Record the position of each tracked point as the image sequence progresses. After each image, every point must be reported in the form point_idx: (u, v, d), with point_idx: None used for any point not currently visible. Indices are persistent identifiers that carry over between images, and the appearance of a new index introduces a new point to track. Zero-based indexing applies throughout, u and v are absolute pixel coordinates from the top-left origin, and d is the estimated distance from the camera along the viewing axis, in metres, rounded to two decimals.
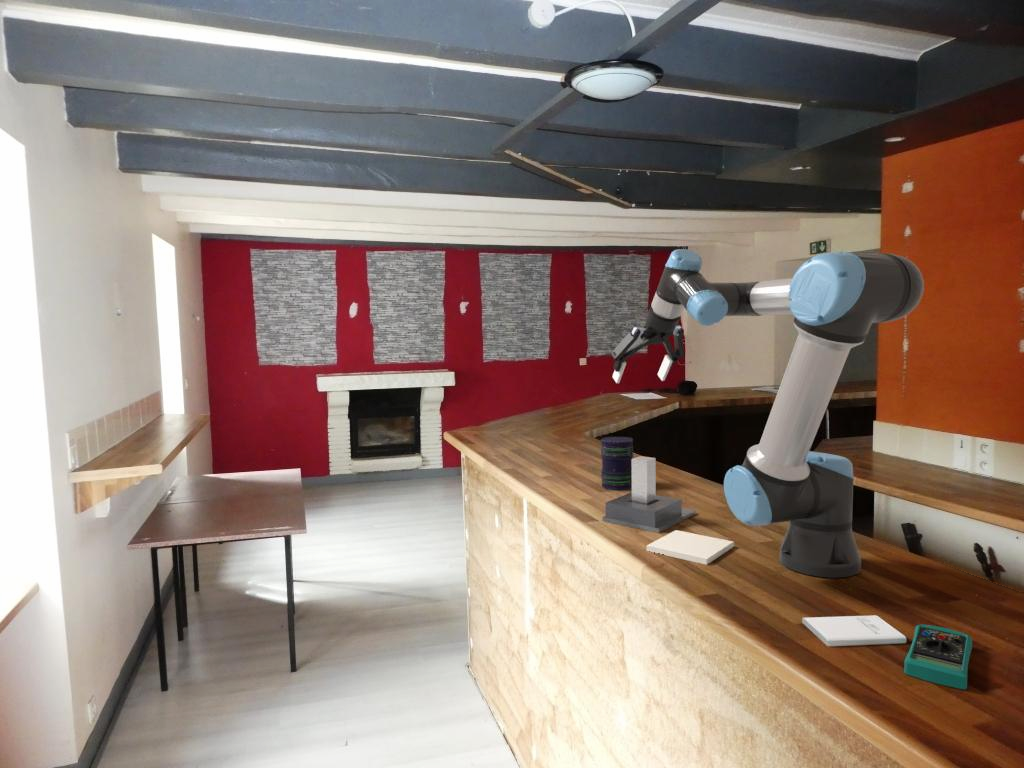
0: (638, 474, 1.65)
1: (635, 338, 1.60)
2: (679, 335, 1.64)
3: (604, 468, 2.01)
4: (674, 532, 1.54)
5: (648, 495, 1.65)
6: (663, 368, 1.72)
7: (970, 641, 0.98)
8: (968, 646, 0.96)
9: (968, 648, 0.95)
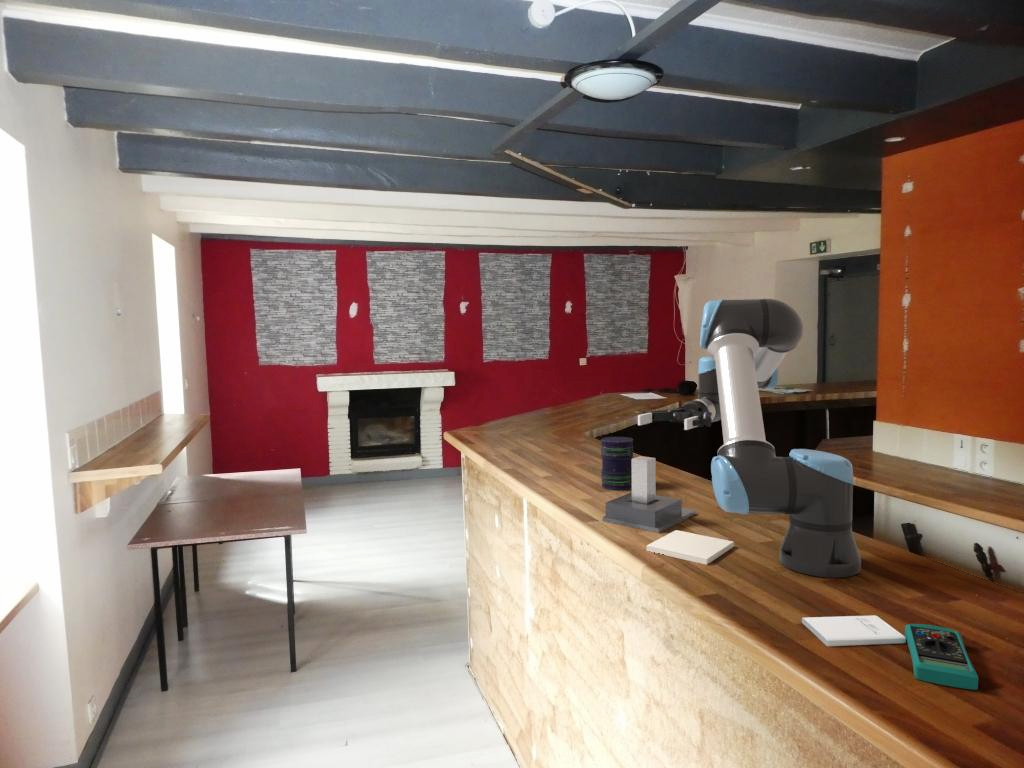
0: (638, 474, 1.65)
1: (664, 410, 1.88)
2: (707, 413, 1.80)
3: (604, 468, 2.01)
4: (674, 532, 1.54)
5: (648, 495, 1.65)
6: None
7: (961, 637, 0.99)
8: (962, 643, 0.97)
9: (963, 645, 0.96)
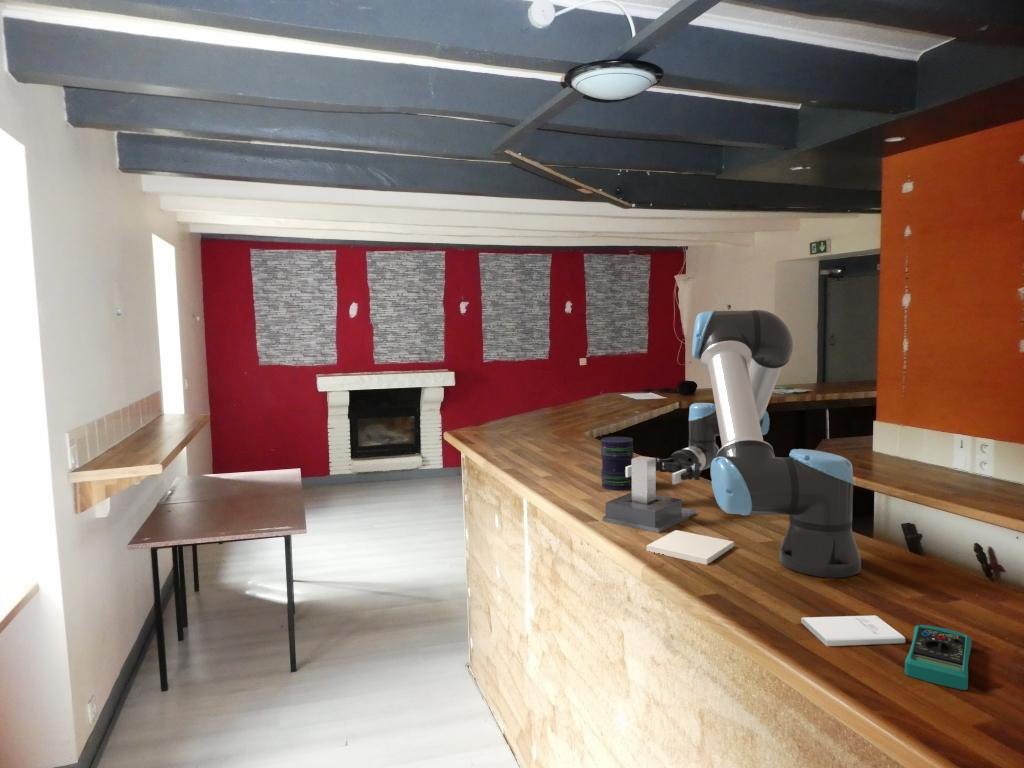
0: (638, 474, 1.65)
1: None
2: (696, 464, 1.77)
3: (604, 468, 2.01)
4: (674, 532, 1.54)
5: (648, 495, 1.65)
6: None
7: (969, 641, 0.97)
8: (968, 646, 0.96)
9: (968, 648, 0.95)
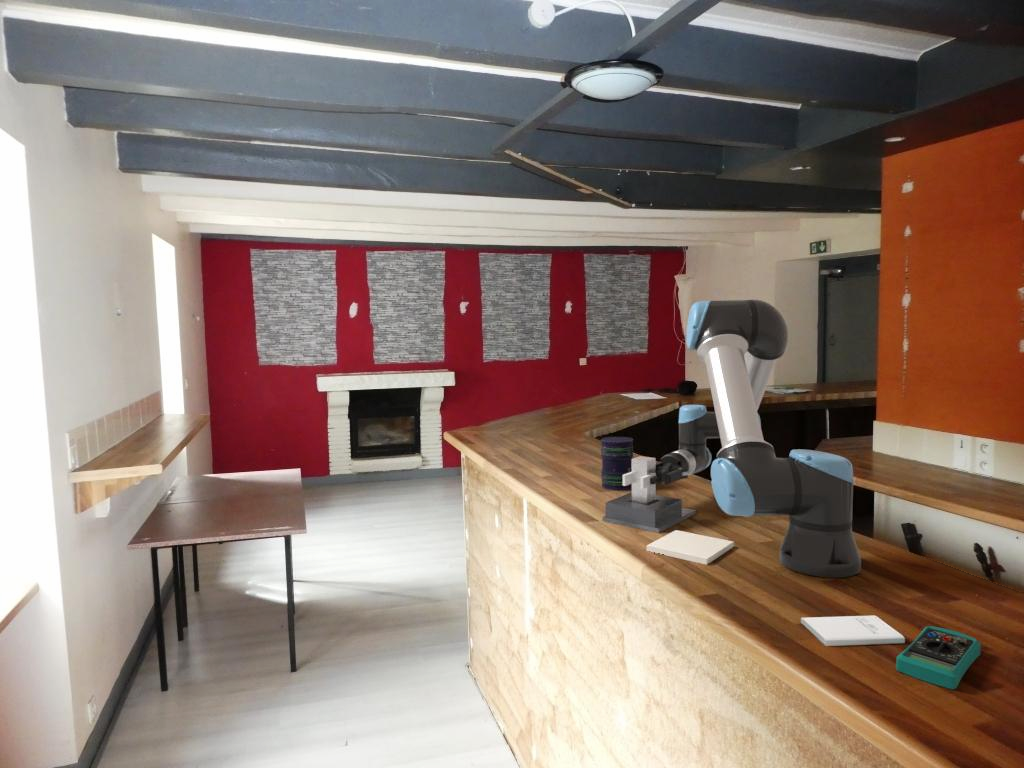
0: (639, 474, 1.65)
1: None
2: (681, 468, 1.71)
3: (604, 468, 2.01)
4: (674, 532, 1.54)
5: (648, 495, 1.65)
6: None
7: (977, 645, 0.96)
8: (972, 650, 0.95)
9: (971, 651, 0.94)
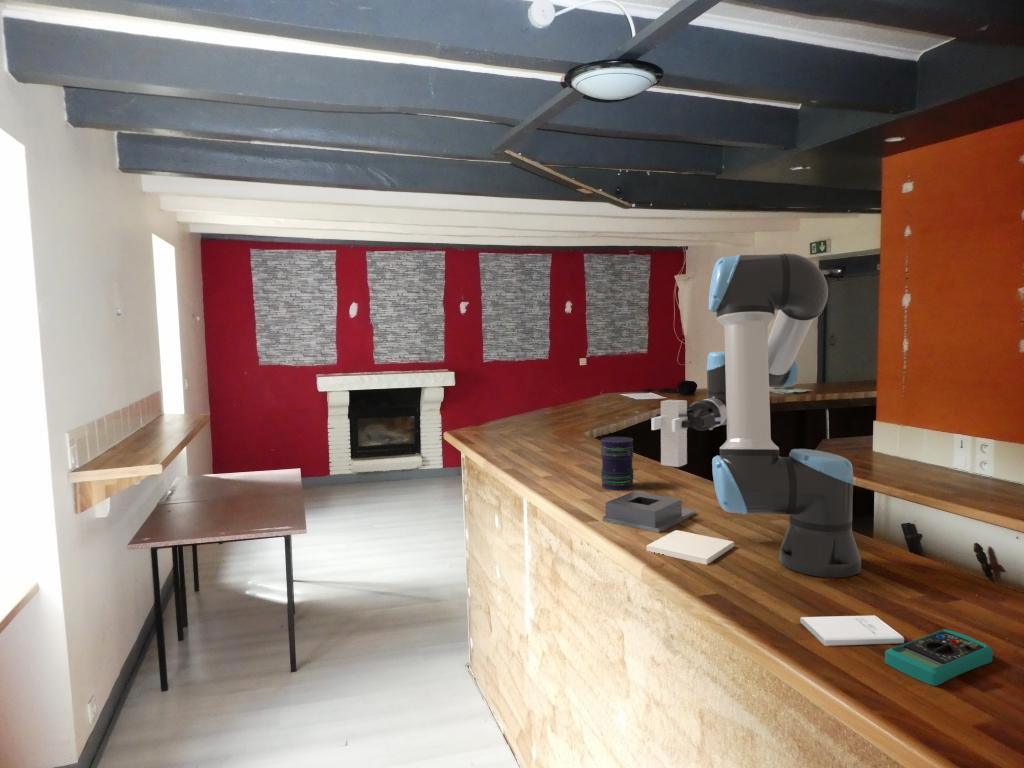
0: (669, 417, 1.51)
1: None
2: (713, 414, 1.57)
3: (604, 468, 2.01)
4: (674, 532, 1.54)
5: (679, 440, 1.51)
6: None
7: (985, 651, 0.94)
8: (976, 654, 0.94)
9: (973, 656, 0.93)
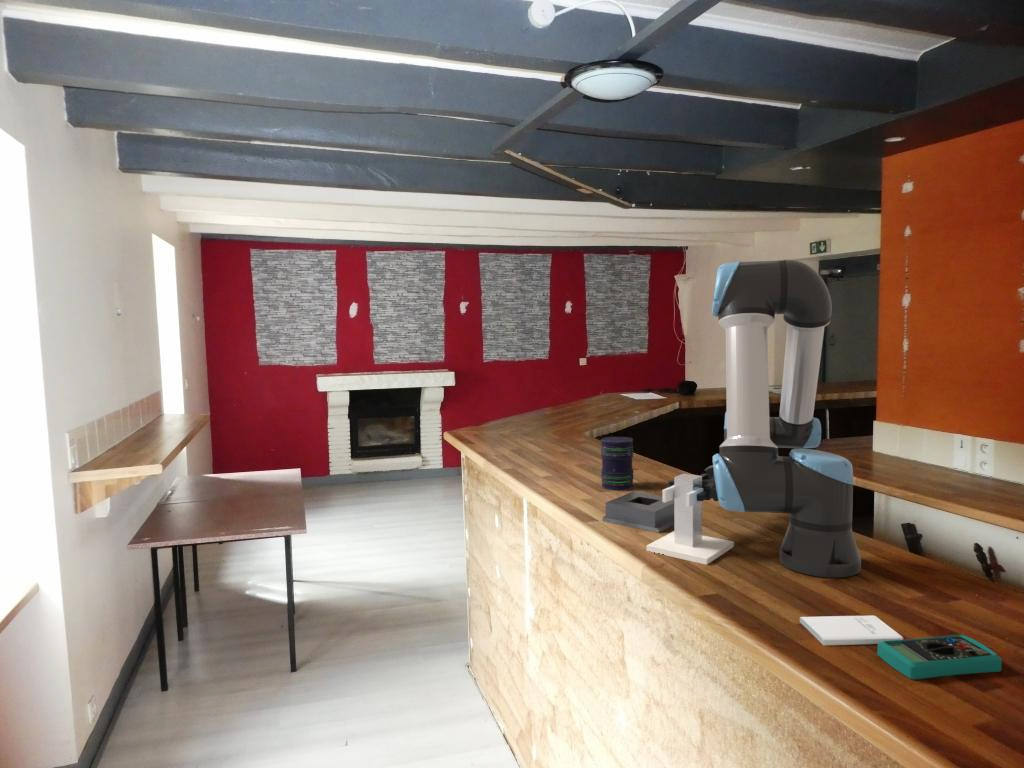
0: (683, 494, 1.44)
1: None
2: None
3: (604, 468, 2.01)
4: None
5: (694, 519, 1.43)
6: None
7: (991, 659, 0.92)
8: (976, 659, 0.92)
9: (972, 660, 0.92)
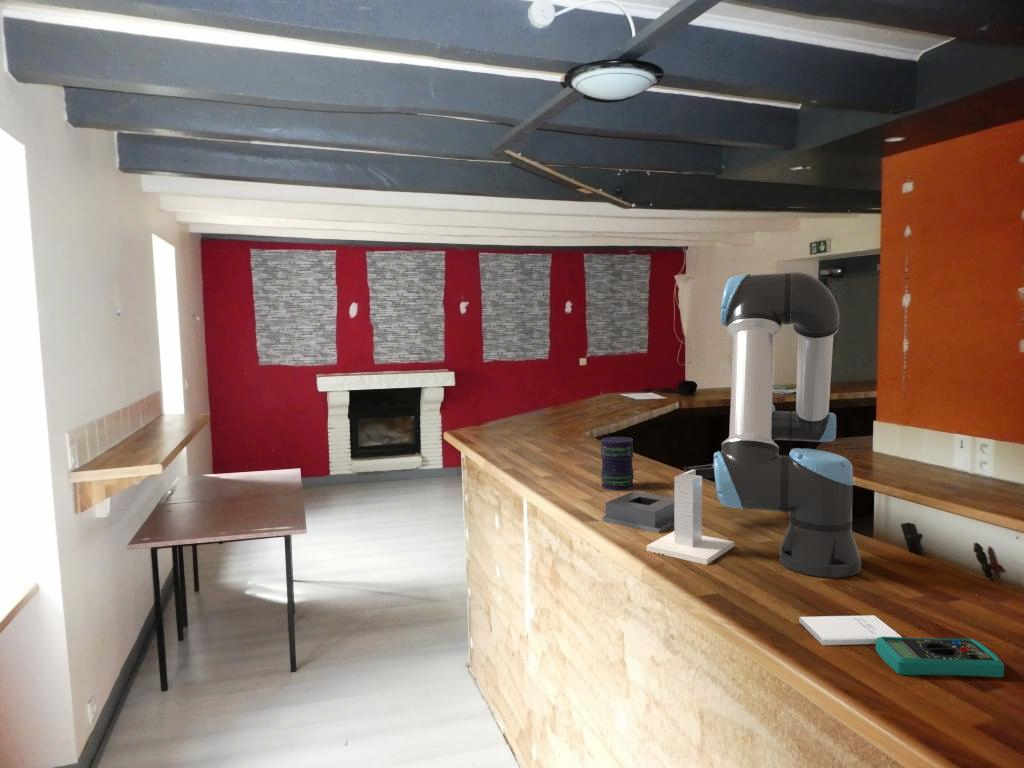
0: (683, 494, 1.44)
1: (708, 465, 1.67)
2: None
3: (604, 468, 2.01)
4: None
5: (694, 519, 1.43)
6: None
7: (991, 663, 0.91)
8: (973, 662, 0.91)
9: (969, 663, 0.91)
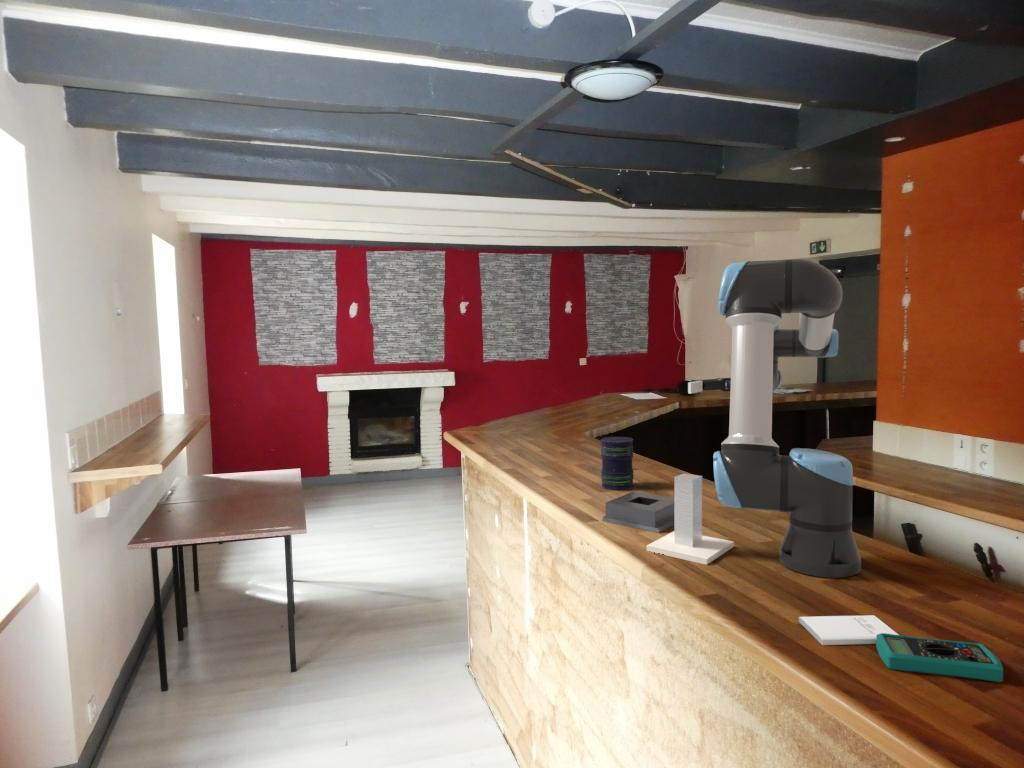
0: (683, 494, 1.44)
1: (715, 379, 1.72)
2: None
3: (604, 468, 2.01)
4: None
5: (694, 519, 1.43)
6: None
7: (988, 667, 0.90)
8: (969, 664, 0.91)
9: (965, 664, 0.91)
